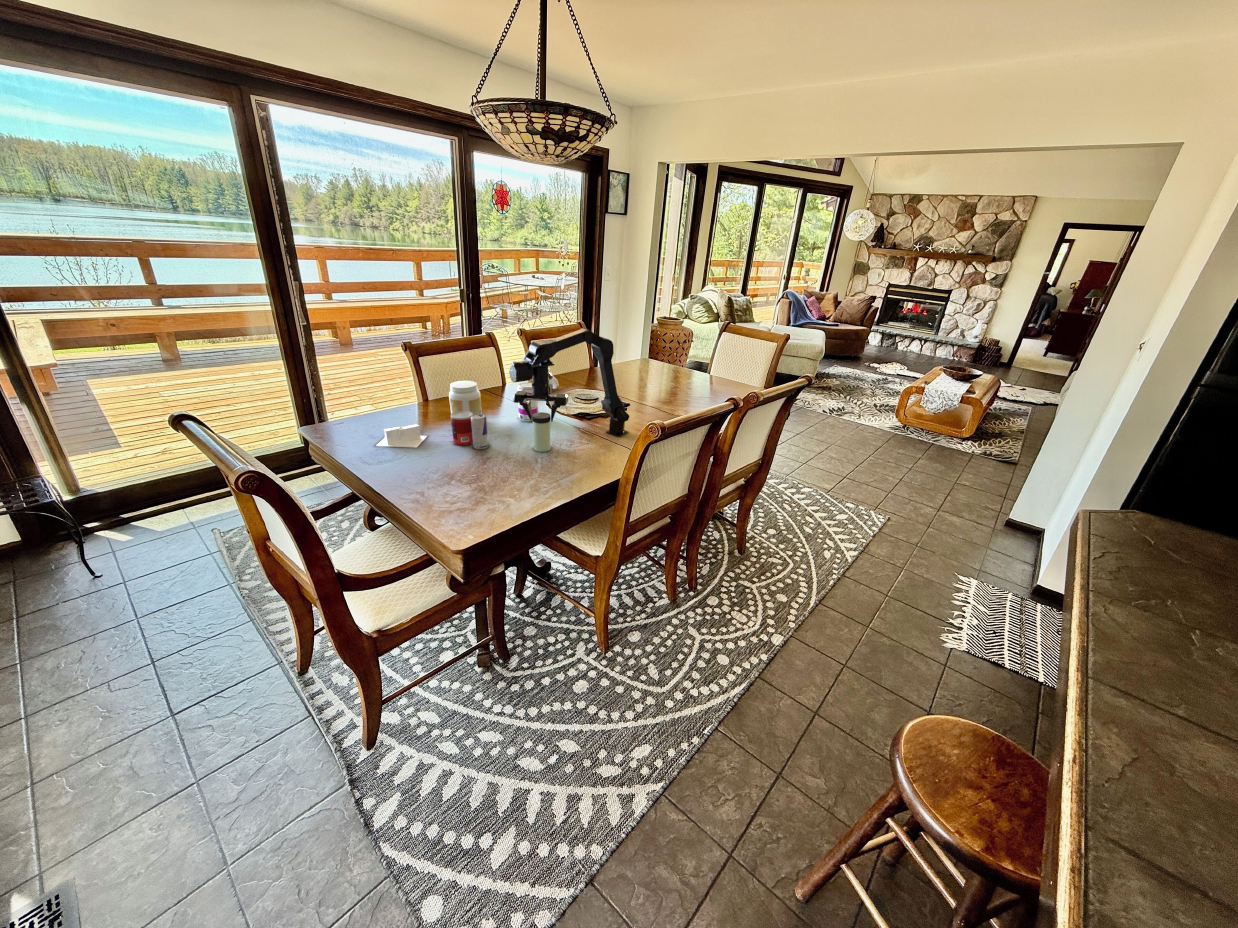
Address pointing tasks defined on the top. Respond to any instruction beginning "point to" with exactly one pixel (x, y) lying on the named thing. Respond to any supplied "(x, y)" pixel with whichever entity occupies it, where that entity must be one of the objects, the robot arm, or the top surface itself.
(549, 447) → the jar
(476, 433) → the energy drink
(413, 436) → the napkin holder
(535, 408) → the supplement can
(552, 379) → the spread jar
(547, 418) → the lid
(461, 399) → the supplement tub
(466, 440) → the canned food
